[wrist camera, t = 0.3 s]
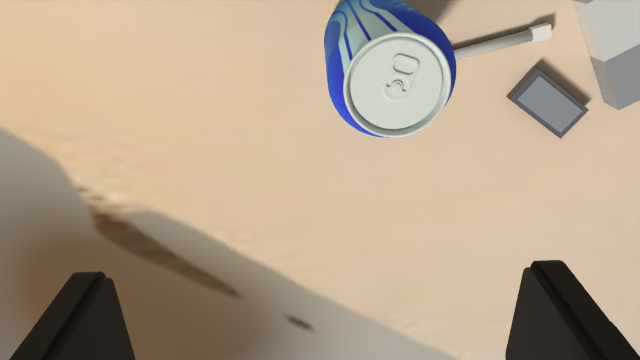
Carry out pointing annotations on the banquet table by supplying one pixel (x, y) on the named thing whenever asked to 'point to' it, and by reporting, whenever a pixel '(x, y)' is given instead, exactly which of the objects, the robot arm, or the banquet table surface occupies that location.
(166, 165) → the banquet table surface
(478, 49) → the cable
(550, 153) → the banquet table surface
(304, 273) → the banquet table surface
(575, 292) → the robot arm
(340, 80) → the beer can
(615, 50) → the socket plate
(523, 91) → the phone
